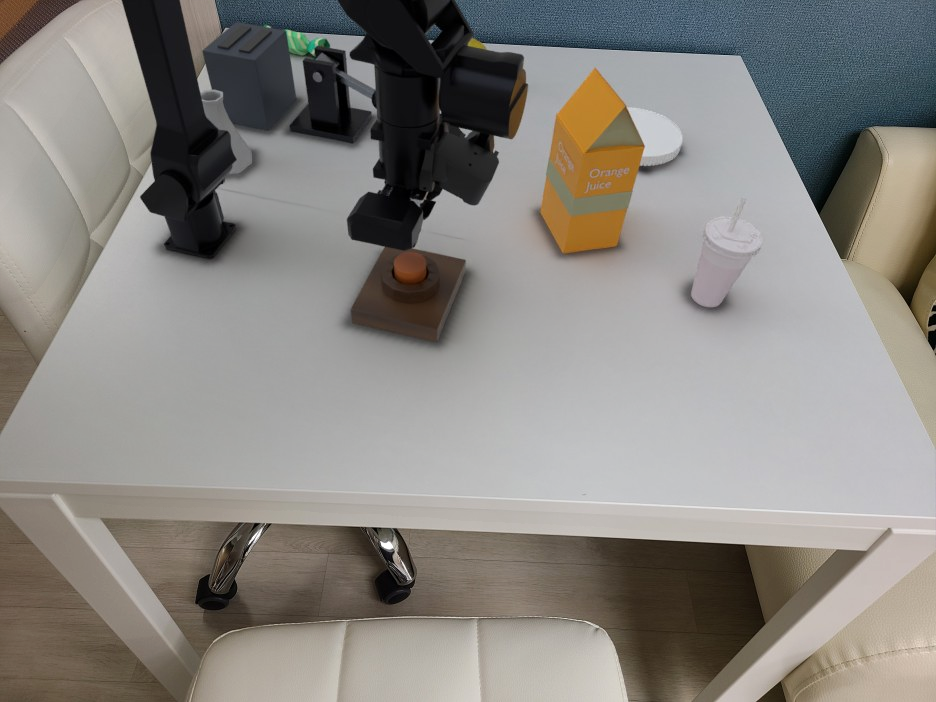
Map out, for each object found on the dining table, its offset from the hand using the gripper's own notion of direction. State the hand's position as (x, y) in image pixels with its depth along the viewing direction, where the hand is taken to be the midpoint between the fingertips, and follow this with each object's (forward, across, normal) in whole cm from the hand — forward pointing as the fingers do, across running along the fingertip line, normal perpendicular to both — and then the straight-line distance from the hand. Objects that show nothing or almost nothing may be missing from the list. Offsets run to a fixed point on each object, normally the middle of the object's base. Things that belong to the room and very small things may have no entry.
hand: (410, 245), depth 73 cm
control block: (+8, 0, 0) cm, 8 cm away
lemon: (+8, +51, +6) cm, 52 cm away
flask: (+8, +18, +33) cm, 39 cm away
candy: (+8, +52, +38) cm, 65 cm away
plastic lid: (+8, +42, -22) cm, 48 cm away
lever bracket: (+8, +32, +23) cm, 40 cm away
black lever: (+2, +32, +19) cm, 38 cm away
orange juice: (+8, +19, -17) cm, 27 cm away
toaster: (+8, +32, +35) cm, 48 cm away
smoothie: (+8, +11, -34) cm, 37 cm away
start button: (+4, 0, 0) cm, 4 cm away
